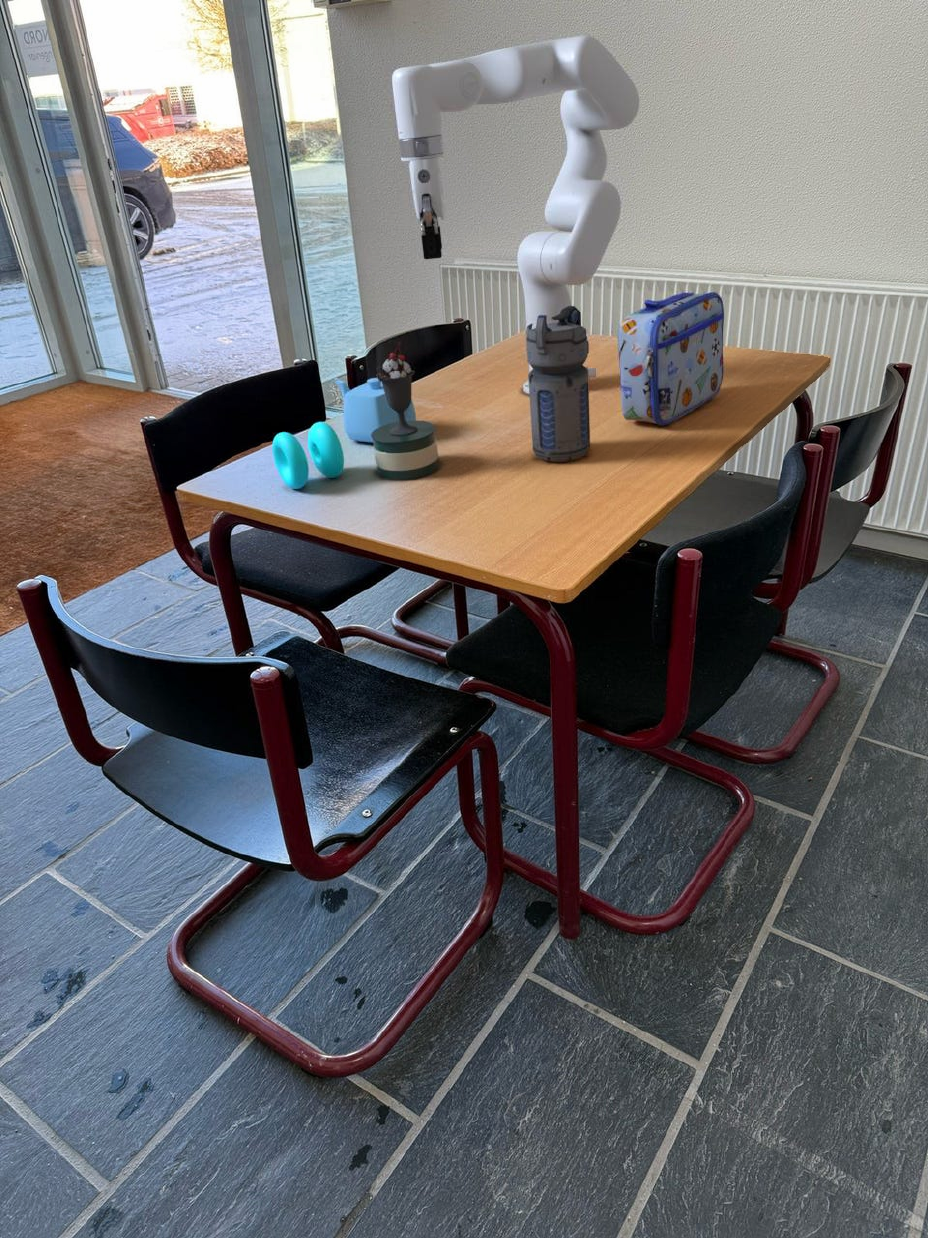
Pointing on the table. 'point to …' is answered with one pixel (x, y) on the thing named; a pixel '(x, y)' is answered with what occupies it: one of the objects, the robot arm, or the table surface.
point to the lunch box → (671, 357)
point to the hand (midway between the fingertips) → (433, 253)
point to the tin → (406, 451)
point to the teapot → (368, 409)
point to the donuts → (321, 449)
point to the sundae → (397, 389)
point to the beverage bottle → (559, 387)
